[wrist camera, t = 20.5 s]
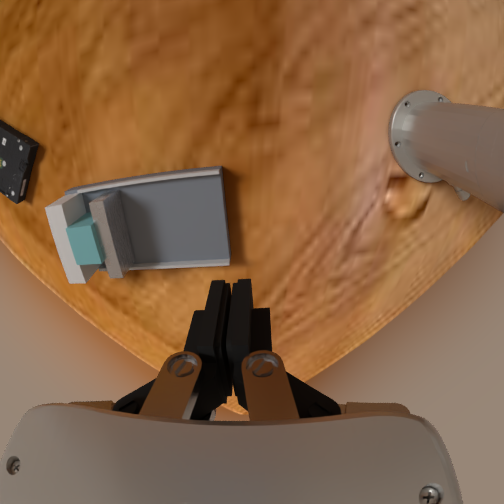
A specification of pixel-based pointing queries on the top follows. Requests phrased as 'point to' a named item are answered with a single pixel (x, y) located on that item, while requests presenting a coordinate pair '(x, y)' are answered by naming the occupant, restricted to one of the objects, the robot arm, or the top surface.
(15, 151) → the disk drive
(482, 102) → the top surface
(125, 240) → the block
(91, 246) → the teal block
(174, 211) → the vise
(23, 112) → the top surface
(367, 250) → the top surface
